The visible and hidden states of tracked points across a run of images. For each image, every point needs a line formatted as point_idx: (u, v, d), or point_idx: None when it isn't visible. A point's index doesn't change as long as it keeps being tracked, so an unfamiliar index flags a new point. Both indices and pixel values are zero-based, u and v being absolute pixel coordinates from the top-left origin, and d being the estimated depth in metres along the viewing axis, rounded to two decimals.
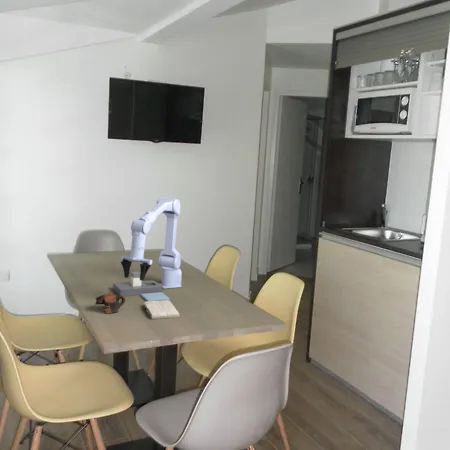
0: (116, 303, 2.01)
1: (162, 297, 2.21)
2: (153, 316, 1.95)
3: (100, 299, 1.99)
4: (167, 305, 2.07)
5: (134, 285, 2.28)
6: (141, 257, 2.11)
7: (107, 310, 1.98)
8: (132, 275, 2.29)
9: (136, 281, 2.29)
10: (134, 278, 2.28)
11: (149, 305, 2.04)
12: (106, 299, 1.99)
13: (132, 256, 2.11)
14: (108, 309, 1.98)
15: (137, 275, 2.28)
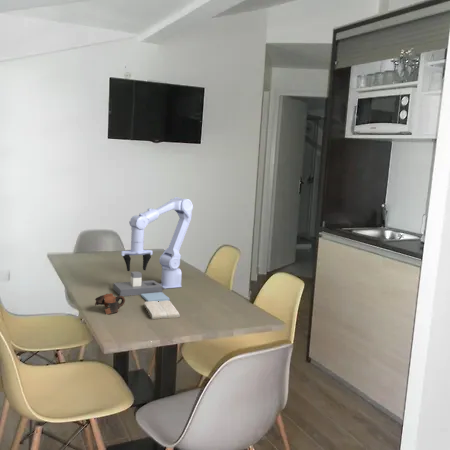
0: (116, 303, 2.00)
1: (162, 297, 2.21)
2: (153, 316, 1.95)
3: (100, 299, 1.99)
4: (167, 305, 2.07)
5: (134, 285, 2.28)
6: None
7: (107, 310, 1.97)
8: (132, 275, 2.29)
9: (136, 281, 2.29)
10: (134, 278, 2.28)
11: (149, 305, 2.04)
12: (106, 299, 1.98)
13: (138, 251, 2.26)
14: (108, 309, 1.97)
15: (137, 275, 2.28)
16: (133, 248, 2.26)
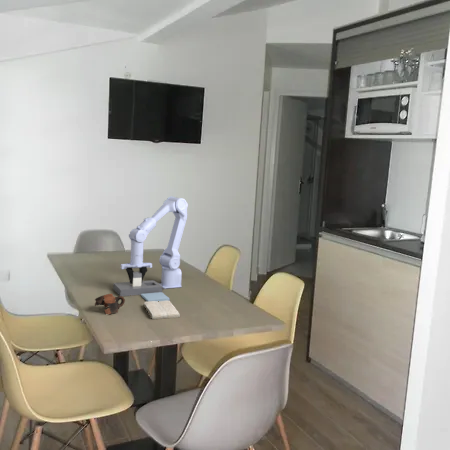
0: (116, 304, 2.00)
1: (162, 297, 2.21)
2: (153, 316, 1.95)
3: (100, 300, 1.98)
4: (167, 305, 2.07)
5: (134, 285, 2.28)
6: (142, 262, 2.30)
7: (107, 311, 1.97)
8: None
9: (136, 281, 2.29)
10: (134, 278, 2.28)
11: (149, 305, 2.04)
12: (106, 300, 1.98)
13: (137, 264, 2.27)
14: (108, 310, 1.97)
15: (137, 275, 2.28)
16: (133, 261, 2.27)
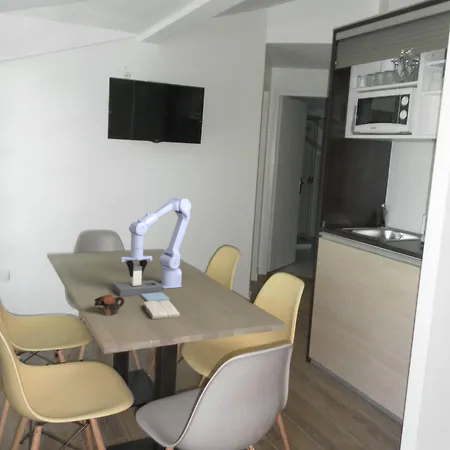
0: (115, 304, 1.99)
1: (162, 297, 2.21)
2: (154, 316, 1.95)
3: (99, 300, 1.98)
4: (167, 305, 2.07)
5: (134, 278, 2.28)
6: (142, 255, 2.30)
7: (106, 311, 1.96)
8: None
9: (136, 274, 2.28)
10: (134, 271, 2.28)
11: (149, 305, 2.04)
12: (105, 300, 1.97)
13: (137, 257, 2.26)
14: (107, 310, 1.96)
15: (137, 268, 2.28)
16: (133, 254, 2.26)
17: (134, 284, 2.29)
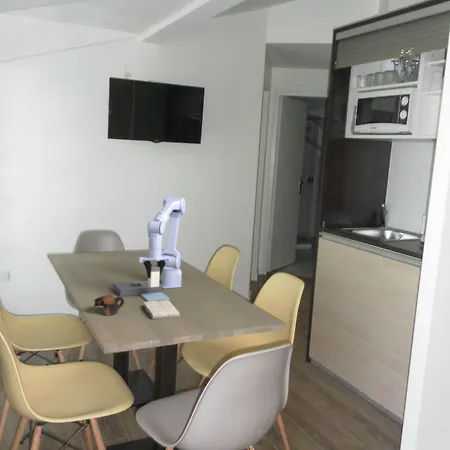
0: (115, 305, 1.99)
1: (162, 297, 2.21)
2: (154, 316, 1.95)
3: (99, 301, 1.97)
4: (167, 305, 2.07)
5: (152, 279, 2.20)
6: (161, 256, 2.21)
7: (106, 312, 1.96)
8: None
9: (154, 275, 2.20)
10: (152, 272, 2.19)
11: (149, 305, 2.04)
12: (105, 301, 1.97)
13: (155, 257, 2.18)
14: (107, 311, 1.96)
15: (155, 269, 2.20)
16: (151, 254, 2.18)
17: (152, 285, 2.20)
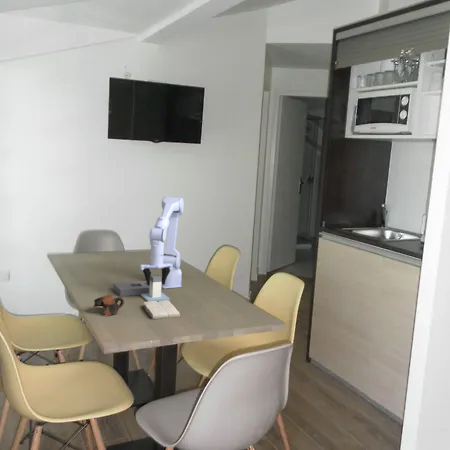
0: (115, 305, 1.98)
1: (162, 297, 2.21)
2: (154, 316, 1.95)
3: (99, 301, 1.97)
4: (167, 305, 2.07)
5: (154, 289, 2.19)
6: (162, 263, 2.21)
7: (106, 312, 1.95)
8: (151, 280, 2.20)
9: (156, 285, 2.20)
10: (154, 282, 2.19)
11: (149, 305, 2.04)
12: (105, 301, 1.96)
13: (157, 264, 2.17)
14: (107, 311, 1.95)
15: (157, 279, 2.20)
16: (153, 262, 2.17)
17: (154, 296, 2.20)
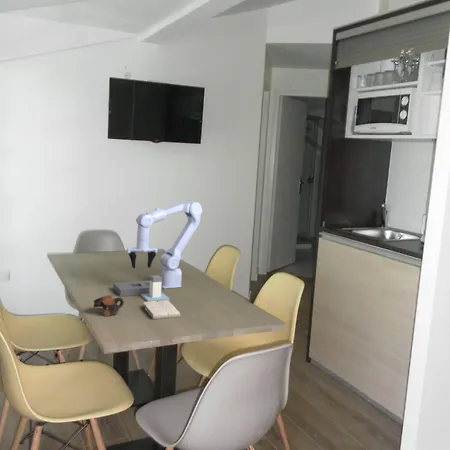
0: (115, 305, 1.98)
1: (162, 297, 2.21)
2: (154, 316, 1.95)
3: (98, 301, 1.96)
4: (167, 305, 2.07)
5: (154, 289, 2.19)
6: (148, 247, 2.34)
7: (106, 312, 1.95)
8: (152, 280, 2.20)
9: (156, 285, 2.20)
10: (154, 282, 2.19)
11: (149, 305, 2.04)
12: (105, 301, 1.96)
13: (143, 248, 2.31)
14: (107, 311, 1.95)
15: (157, 279, 2.19)
16: (139, 245, 2.31)
17: (154, 296, 2.20)
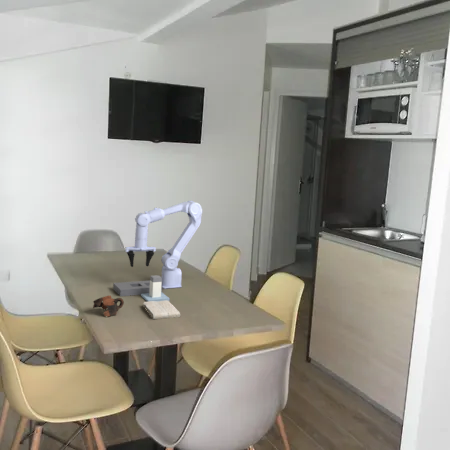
0: (114, 306, 1.97)
1: (162, 297, 2.21)
2: (154, 316, 1.95)
3: (98, 302, 1.96)
4: (167, 305, 2.07)
5: (154, 289, 2.19)
6: (146, 246, 2.36)
7: (106, 313, 1.94)
8: (152, 280, 2.20)
9: (156, 285, 2.20)
10: (154, 282, 2.19)
11: (149, 305, 2.04)
12: (104, 302, 1.95)
13: (141, 247, 2.33)
14: (107, 312, 1.94)
15: (157, 279, 2.19)
16: (137, 244, 2.33)
17: (154, 296, 2.20)
